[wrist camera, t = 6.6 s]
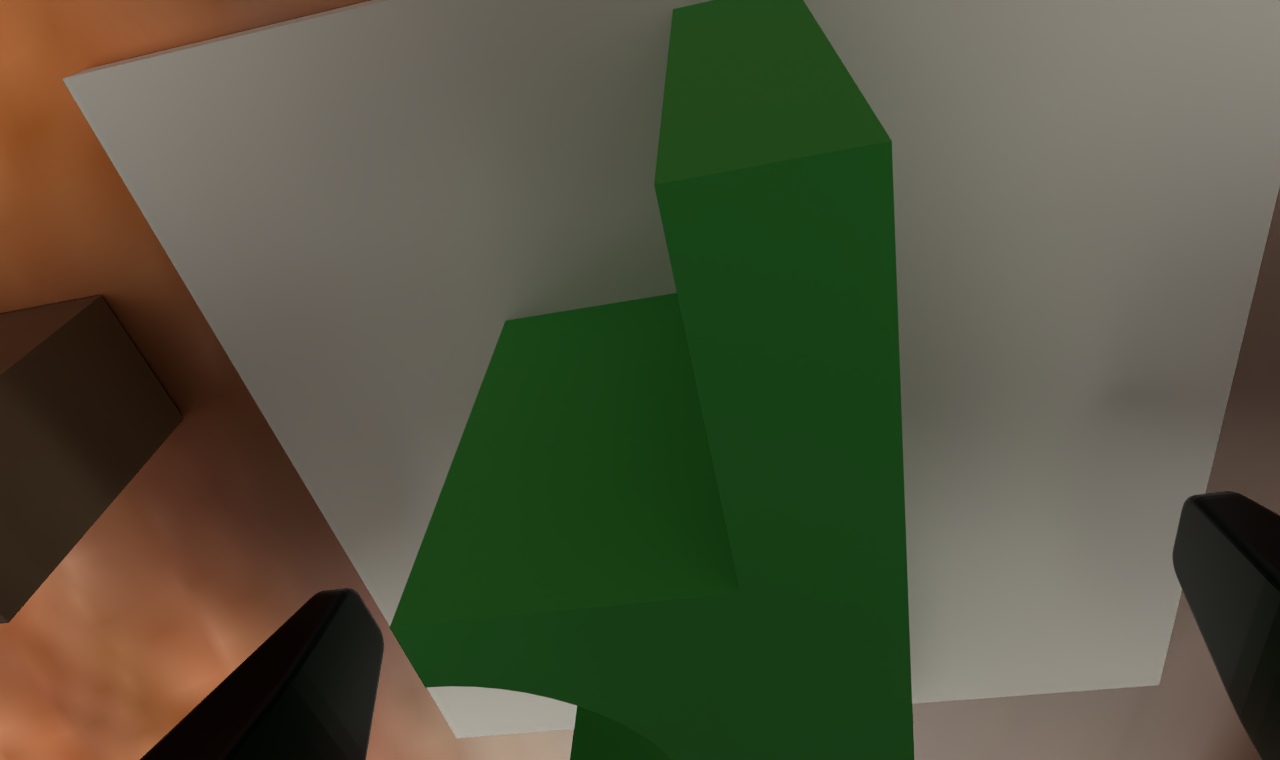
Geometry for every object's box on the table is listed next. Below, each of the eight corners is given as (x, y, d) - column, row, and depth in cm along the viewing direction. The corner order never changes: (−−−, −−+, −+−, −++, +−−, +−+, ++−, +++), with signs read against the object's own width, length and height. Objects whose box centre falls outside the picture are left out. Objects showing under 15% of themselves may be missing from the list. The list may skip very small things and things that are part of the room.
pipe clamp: (416, 62, 8) (167, 264, 4) (791, -22, 7) (895, 126, 4) (644, 717, 14) (626, 1042, 10) (861, 700, 13) (928, 1039, 10)
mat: (1346, -236, 7) (1382, -239, 6) (1146, 663, 13) (1158, 684, 13) (85, 68, 9) (62, 78, 8) (461, 718, 15) (457, 737, 15)
